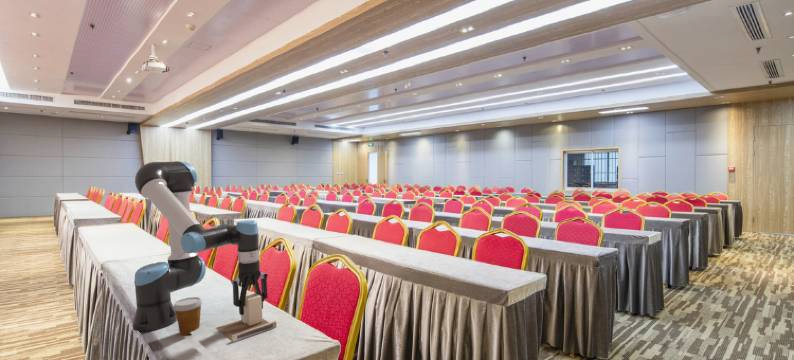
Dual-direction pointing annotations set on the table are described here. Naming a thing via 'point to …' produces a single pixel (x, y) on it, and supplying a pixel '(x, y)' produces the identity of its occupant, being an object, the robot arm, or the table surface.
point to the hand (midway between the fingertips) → (251, 319)
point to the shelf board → (244, 329)
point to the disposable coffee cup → (188, 314)
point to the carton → (253, 308)
